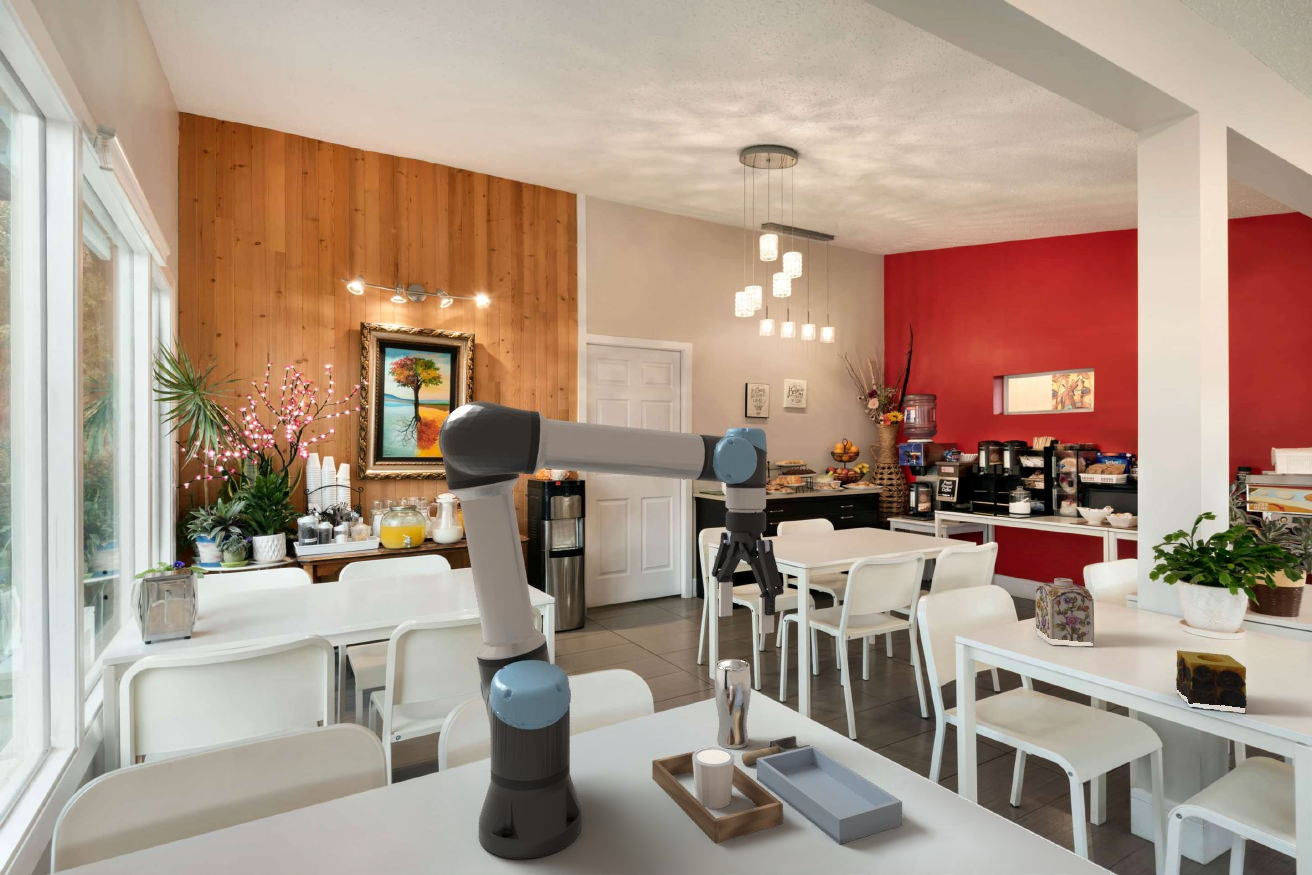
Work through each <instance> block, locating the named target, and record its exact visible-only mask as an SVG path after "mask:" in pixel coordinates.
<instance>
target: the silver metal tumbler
mask: <svg viewBox="0 0 1312 875" xmlns="http://www.w3.org/2000/svg"><path fill="white" fill-rule="evenodd" d="M714 668H715V670H714V697H715V703H716V709H717V716H718V723H719V724H718V731H717V736H716V737H717V739H716V742H717V744H718V745H719V746H720V747H722V748H724V747H725V748H726V749H728V748H729V750H739V749H744V748H747V746H748V745H750V744H749V743H750V739H749V734H748V726H747V723H748V714H749V709H750V702H751V694H752V693H751V692H752V684H751V682H752V681H751V680H752V678H751V670H750V669H751V668H750V663H749V662H747V661H745V660H742V659H737V658H729V659H728V658H726V659H721V660H718V661H716V662H715V667H714Z"/></svg>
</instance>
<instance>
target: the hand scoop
mask: <svg viewBox="0 0 1312 875" xmlns="http://www.w3.org/2000/svg"><path fill="white" fill-rule="evenodd" d="M809 746H811V745H810V744H805V745H802V746H798V745H797V736H796V735H793V736H787V737H784V738H783V737H782V738H779V739H774V740H770V741H769V747H766V748H761V749H755V750H752V751H748V752H743V753H742V755H741V761H742V763H743V765H744V766H750V765H755V764H757V758H761V757H765V756H770V755H774V754H778V753H783V752H787V751H791V750H796V749H800V748H804V747H809Z"/></svg>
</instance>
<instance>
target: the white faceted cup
mask: <svg viewBox="0 0 1312 875" xmlns="http://www.w3.org/2000/svg"><path fill="white" fill-rule="evenodd" d="M695 751H696V752H694V751H693V752H694V753H693V756H692V760H693V771H692V772H693V779H694V780H693V781H694V791H695V792H694V793H695V798H696V799H697V800H698V801H699V802H700V803H701V804H702V805H703V806H704V807H705V808H706V809H716V810H718V809H722V808H725V807H728V806H729V805H730V804H731V801H732V790H733V789H732V788H733V785H732V781H733V769H734V765H735V755H734V754H733V753H732V752H731V751H729V750H727V749H724V748H719V747H704V748H701V749H698V750H695Z"/></svg>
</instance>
